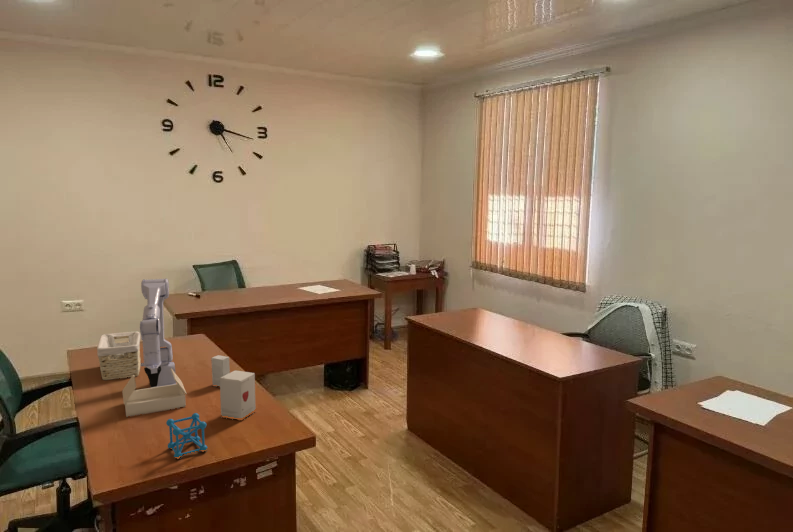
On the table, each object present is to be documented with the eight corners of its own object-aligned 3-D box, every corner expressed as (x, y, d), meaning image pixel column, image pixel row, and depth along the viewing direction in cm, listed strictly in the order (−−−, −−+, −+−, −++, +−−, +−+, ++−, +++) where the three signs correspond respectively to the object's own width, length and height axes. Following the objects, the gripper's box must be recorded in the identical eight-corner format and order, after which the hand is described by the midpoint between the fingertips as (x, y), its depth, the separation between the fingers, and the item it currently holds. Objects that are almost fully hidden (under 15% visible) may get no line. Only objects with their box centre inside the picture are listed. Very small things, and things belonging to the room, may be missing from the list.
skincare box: (230, 384, 231) (229, 356, 229) (223, 388, 227) (222, 359, 225) (219, 382, 234) (218, 354, 232) (212, 385, 230) (210, 357, 228)
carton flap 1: (134, 374, 211) (133, 374, 211) (136, 387, 199) (135, 386, 199) (123, 391, 210) (122, 390, 210) (124, 404, 198) (123, 403, 198)
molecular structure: (208, 452, 174) (207, 422, 172) (175, 461, 168) (173, 430, 166) (199, 440, 182) (197, 411, 180) (166, 448, 176) (165, 418, 174)
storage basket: (140, 377, 239) (138, 344, 237) (98, 382, 233) (95, 348, 231) (142, 361, 261) (140, 330, 259) (103, 365, 255) (101, 333, 252)
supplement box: (241, 421, 196) (240, 380, 193) (220, 418, 199) (218, 377, 197) (256, 412, 204) (255, 372, 202) (236, 408, 207) (234, 369, 205)
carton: (181, 394, 220) (180, 383, 220) (185, 407, 208) (185, 395, 207) (124, 403, 211) (123, 391, 210) (126, 417, 199) (125, 405, 198)
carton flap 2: (180, 382, 220) (181, 381, 220) (185, 394, 207) (186, 394, 208) (170, 368, 217) (171, 368, 217) (174, 380, 205) (175, 379, 205)
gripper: (138, 347, 211) (140, 381, 213) (141, 358, 198) (143, 394, 200) (158, 344, 214) (160, 378, 216) (162, 355, 202) (164, 391, 204)
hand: (153, 386), depth 208 cm, fingers closed
